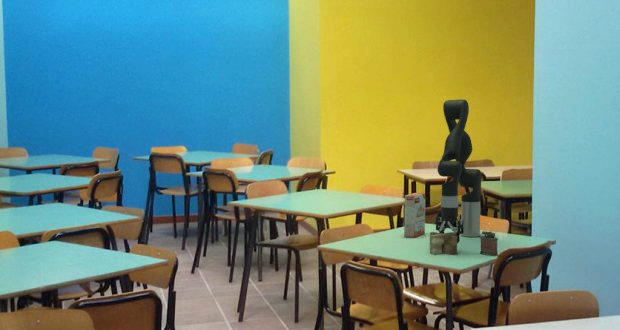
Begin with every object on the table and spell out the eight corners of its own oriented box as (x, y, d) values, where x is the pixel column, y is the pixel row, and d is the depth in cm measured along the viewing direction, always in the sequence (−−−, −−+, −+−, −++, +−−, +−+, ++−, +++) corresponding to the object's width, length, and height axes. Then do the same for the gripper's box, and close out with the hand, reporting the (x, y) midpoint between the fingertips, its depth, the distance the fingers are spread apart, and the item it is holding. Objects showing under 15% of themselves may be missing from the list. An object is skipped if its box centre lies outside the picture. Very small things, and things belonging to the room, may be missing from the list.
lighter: (499, 254, 328) (499, 232, 328) (495, 256, 326) (495, 233, 325) (482, 252, 334) (482, 230, 333) (478, 253, 331) (478, 231, 330)
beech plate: (429, 253, 332) (430, 235, 332) (451, 249, 341) (451, 232, 340) (433, 254, 330) (434, 236, 330) (455, 250, 339) (455, 232, 338)
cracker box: (415, 238, 370) (415, 195, 369) (403, 237, 373) (403, 195, 372) (425, 234, 382) (425, 192, 381) (414, 233, 385) (414, 192, 384)
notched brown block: (429, 250, 340) (429, 232, 340) (433, 249, 342) (433, 231, 341) (453, 254, 329) (453, 236, 329) (457, 254, 331) (457, 236, 330)
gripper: (431, 204, 340) (431, 240, 341) (456, 208, 328) (455, 245, 330) (443, 203, 344) (443, 238, 345) (467, 206, 333) (467, 243, 334)
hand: (449, 241), depth 338 cm, fingers open, 8 cm apart
